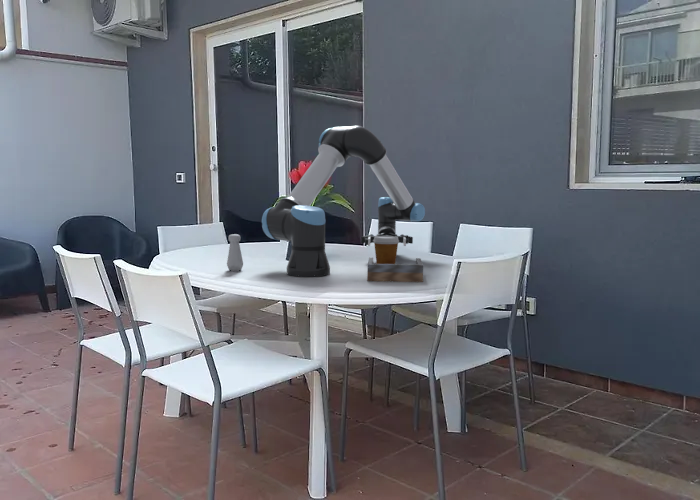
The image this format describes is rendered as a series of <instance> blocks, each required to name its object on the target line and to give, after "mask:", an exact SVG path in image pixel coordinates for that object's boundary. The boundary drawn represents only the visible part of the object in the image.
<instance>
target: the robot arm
mask: <svg viewBox="0 0 700 500" xmlns="http://www.w3.org/2000/svg"><path fill="white" fill-rule="evenodd" d="M318 142H319V143H318V155H317V156H316V157H315V159H314V160H313V162H312V163H311V164H310V165H309V166H308V168H307V170H306V171H305V172H304V174H303V175H302V177H301V178H300V179H299V181H298V182H297V184H296V185H295V187H294V188H293V189H292V190H291V192H289V194H288V196H287V197H282V198H280V200H279V201H278V202H277V204H276V205H275V207H274V206H271V207H269V208H267V209H265V211H264V212H263V214H262V216H261V227H262V231H263V233H264V234H265V235H266V236H267V237H268V238H270V239H273V240H275V241H286V242H291V252H290V256H289V259H288V263H287V265H286V274H287V275H288V276H293V277H303V278H305V277H307V278H310V277H323V276H327V275H330V274H331V266H330V262H329V260H328V257H327V253H326V221H327V220H326V213H325V210H324V209H323V208H321V207H318V206H312V204H313V202H314V201H315V200H316V198H317V197H318V195H319V194H320V192H321V191H322V189H323V188H324V186H325V185H326V184H327V183H328V181H329V179H330V178H331V176H332V175H333V173H334V172H335V170H336V169H337V168H339V167H343V166H344V165H345V163H346V162H347V160H348V159H349V158H359V159H361V160H362V161H363V163H364V164H365V165H366V166H369V167H370V169H371V171H372V172H373V173H374V175H375V176H376V178H377V179H378V181H379V183H380V184H381V185H382V187H383V189H384V191H386V193H387V195H388V196H389V197H388V196H383V197H379V198H378V206H377V213H378V215H377V216H378V217H377V218H378V220H377V221H378V222H377V234H376V235H375V234H372V233H371V234H368V235H363V236H361V238H360V242H361V244H365V246H368V247H370V246H371V244H372V243H373V244H374V241H373V240H374V237H376V236H396V237H398V240H399V243H400V244H403V245H402V246H403V247H406V246H407V245H408V244H414V237H413V236H410V235H409V234H408V235H407V234H406V235H404V234H399V235H398V234H397V232H396V228H397V227H396V224H397V223H396V222H397V221H403V222H420V221H422V220H423V219H424V217H425V215H426V208H425V206H424V205H423V204H422V203H419V202H415V199H414V198H413V197H412V195H411V194H410V192H409V190H408V188H407V187H406V185H405V184H404V182H403V180H402V179H401V177H400V176H399V174H398V172H397V171H396V169H395V167H394V165H393V164H392V162H391V160H390V159H389V158H388V156H387V152H388V151H387V149H386V147H385V146H384V144H383V143H382V142H381V140H380V139H379V138H378V137H377V136H376V134H375V133H373V132H372V131H371V130H369V129H368V128H366V127H363V126H361V125H351V126H334V127H329V128H327V129H325V130H324V131H323V132H322V133H321V134H320V136H319V139H318ZM399 243H398V244H399Z"/></svg>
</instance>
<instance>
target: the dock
mask: <svg viewBox="0 0 700 500" xmlns="http://www.w3.org/2000/svg"><path fill="white" fill-rule="evenodd" d="M367 261H368V262H367V272H366V273H367V274H366V275H367V276H366V277H367V278H366V279H367V280H366V281H367V282H392V281H393V282H399V283H400V282H405V283H406V282H408V283H423V281H424V263H423V262H422V258H421V257H419V258H418V257H417V258H416V259H415V264H409V263H408V264H407V263H405V264H404V263H403V264H402V263H395V264H377V263H374V257H368V260H367Z"/></svg>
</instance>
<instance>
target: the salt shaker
mask: <svg viewBox="0 0 700 500" xmlns="http://www.w3.org/2000/svg"><path fill="white" fill-rule="evenodd" d="M228 242H229V247H228V248H229V249H228V255H227V260H226V261H227V262H226V267H227V268H228V271H229V270H231V271H230V272H240V271H239V270H241V271H242V269H243V267H244V261H243V260H244V259H243V256H242V251H241V245H240V242H241V235H240V234H237V233H234V234H233V233H232V234H229V235H228Z"/></svg>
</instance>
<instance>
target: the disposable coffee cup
mask: <svg viewBox="0 0 700 500" xmlns="http://www.w3.org/2000/svg"><path fill="white" fill-rule="evenodd" d="M375 236H376V235H375ZM373 241H374V243H373V244H374V253H375V264H396V261H397V255H398V245H399V240H398V237H396V236H376V237H374V240H373Z"/></svg>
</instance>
